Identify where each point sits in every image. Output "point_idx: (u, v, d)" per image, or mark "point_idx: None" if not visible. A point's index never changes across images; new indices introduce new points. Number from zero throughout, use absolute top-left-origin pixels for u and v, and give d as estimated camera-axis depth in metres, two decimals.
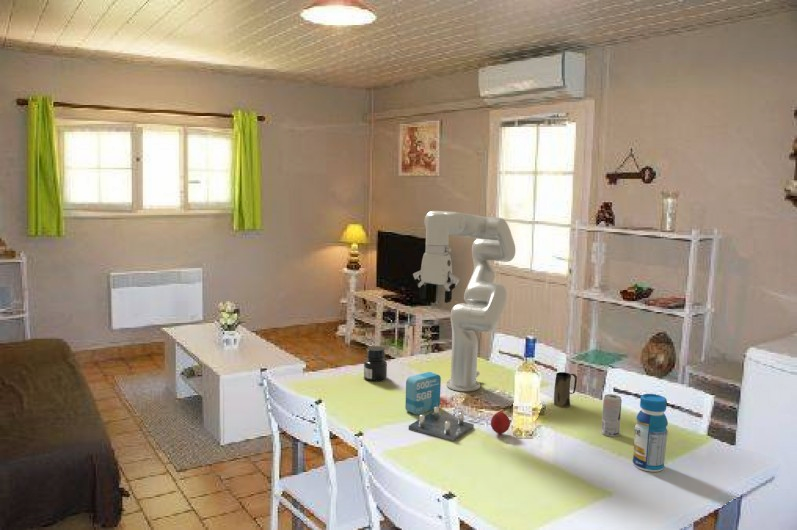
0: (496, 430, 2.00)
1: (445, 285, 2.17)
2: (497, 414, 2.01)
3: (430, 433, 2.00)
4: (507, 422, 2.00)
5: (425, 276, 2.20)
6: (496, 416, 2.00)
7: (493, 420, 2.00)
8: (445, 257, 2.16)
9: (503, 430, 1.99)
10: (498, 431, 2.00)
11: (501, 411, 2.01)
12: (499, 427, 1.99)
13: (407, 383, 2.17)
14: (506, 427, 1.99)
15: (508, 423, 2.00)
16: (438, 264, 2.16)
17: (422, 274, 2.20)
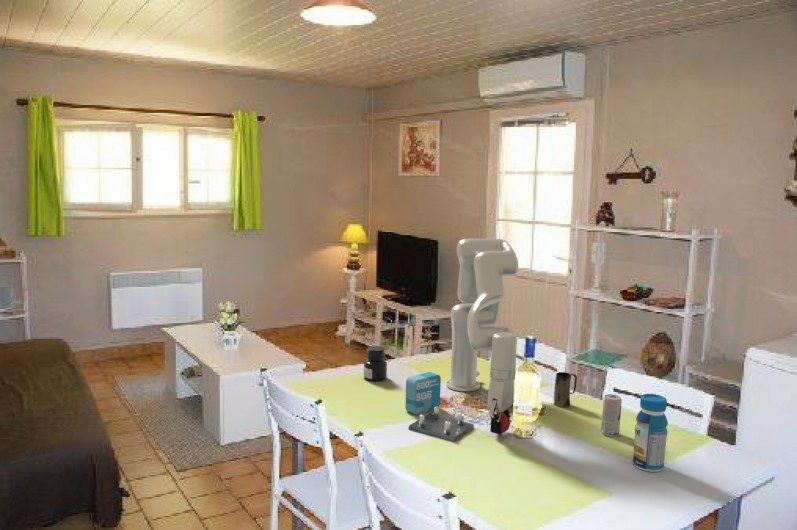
0: None
1: (509, 408, 2.03)
2: (497, 414, 2.01)
3: (430, 433, 2.00)
4: (507, 423, 1.99)
5: (504, 405, 1.97)
6: None
7: None
8: None
9: (503, 430, 1.99)
10: None
11: None
12: None
13: (407, 383, 2.17)
14: (506, 427, 1.99)
15: (508, 423, 2.00)
16: (512, 386, 2.00)
17: (502, 404, 1.96)
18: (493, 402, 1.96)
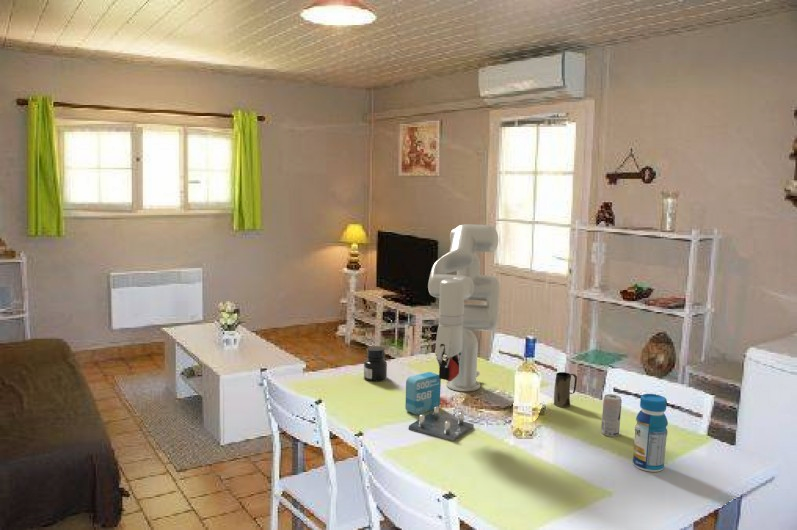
0: None
1: (458, 355, 2.04)
2: None
3: (430, 433, 2.00)
4: (456, 369, 2.01)
5: (452, 351, 1.98)
6: None
7: None
8: None
9: (452, 376, 2.01)
10: None
11: (450, 358, 2.02)
12: None
13: (407, 383, 2.17)
14: (455, 373, 2.00)
15: (457, 369, 2.01)
16: (460, 333, 2.02)
17: (450, 350, 1.97)
18: (441, 348, 1.97)
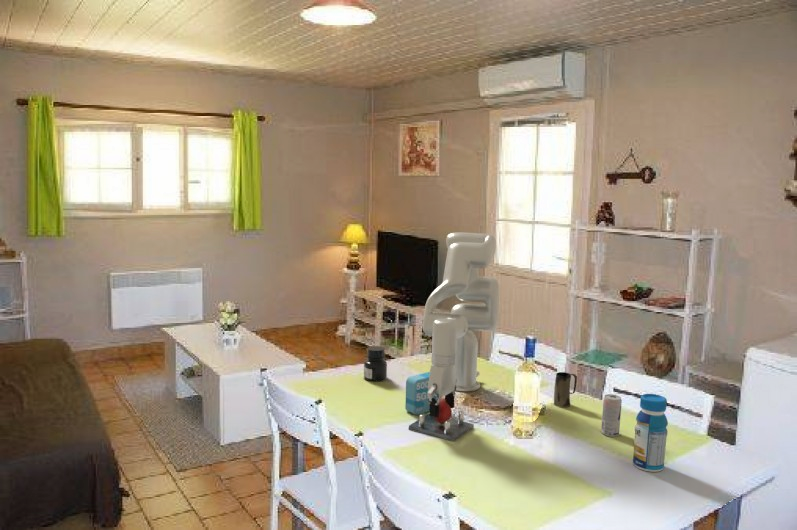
0: (437, 418, 2.04)
1: (453, 390, 2.07)
2: (439, 403, 2.05)
3: (430, 433, 2.00)
4: (449, 411, 2.04)
5: (444, 390, 2.00)
6: (438, 404, 2.05)
7: None
8: None
9: (444, 418, 2.03)
10: (440, 419, 2.04)
11: (443, 400, 2.05)
12: (440, 415, 2.03)
13: (407, 383, 2.17)
14: (447, 415, 2.03)
15: (449, 412, 2.04)
16: (453, 372, 2.04)
17: (442, 389, 1.99)
18: None
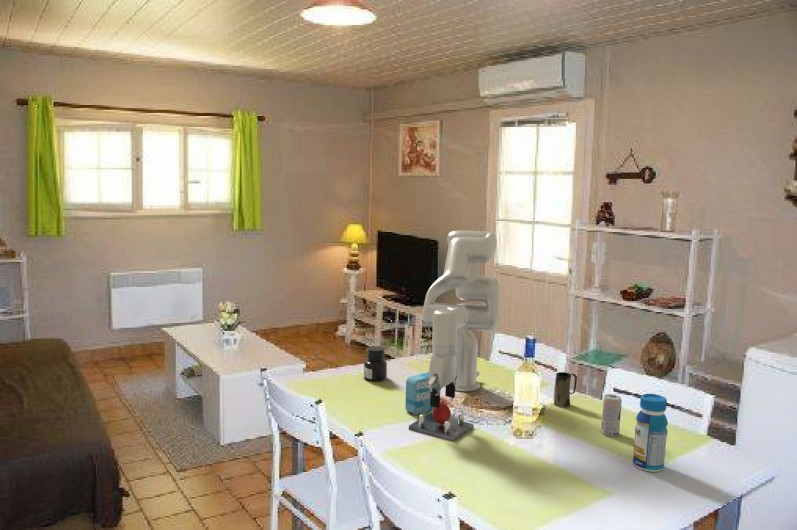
0: (437, 421, 2.03)
1: (453, 380, 2.07)
2: None
3: (430, 433, 2.00)
4: (447, 413, 2.03)
5: (445, 380, 2.00)
6: None
7: (434, 411, 2.04)
8: None
9: (443, 420, 2.03)
10: (439, 422, 2.03)
11: (441, 402, 2.04)
12: (439, 418, 2.02)
13: (407, 383, 2.17)
14: (446, 417, 2.03)
15: (448, 413, 2.03)
16: (453, 362, 2.04)
17: (443, 380, 1.99)
18: None
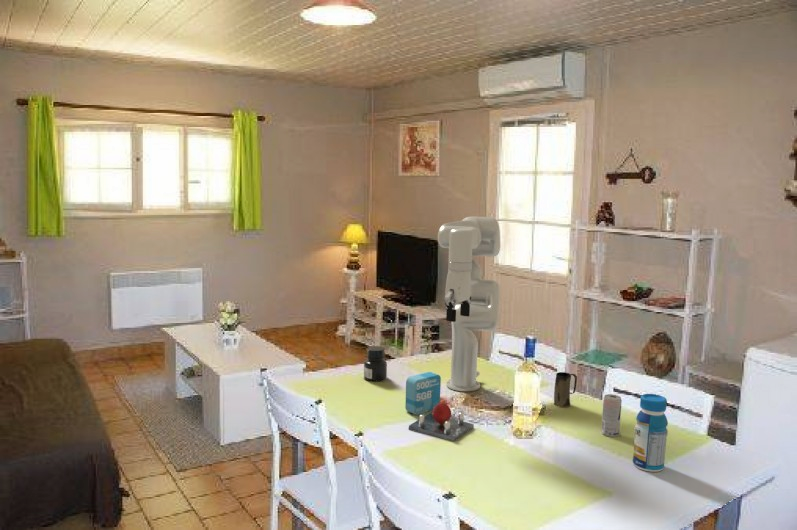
0: (437, 420, 2.03)
1: (468, 299, 2.17)
2: (438, 404, 2.04)
3: (430, 433, 2.00)
4: (448, 413, 2.03)
5: (461, 296, 2.10)
6: (437, 406, 2.04)
7: (434, 410, 2.04)
8: None
9: (444, 420, 2.03)
10: (439, 421, 2.03)
11: (442, 402, 2.04)
12: (440, 417, 2.02)
13: (407, 383, 2.17)
14: (447, 417, 2.03)
15: (449, 413, 2.03)
16: (469, 280, 2.14)
17: (459, 295, 2.09)
18: None
